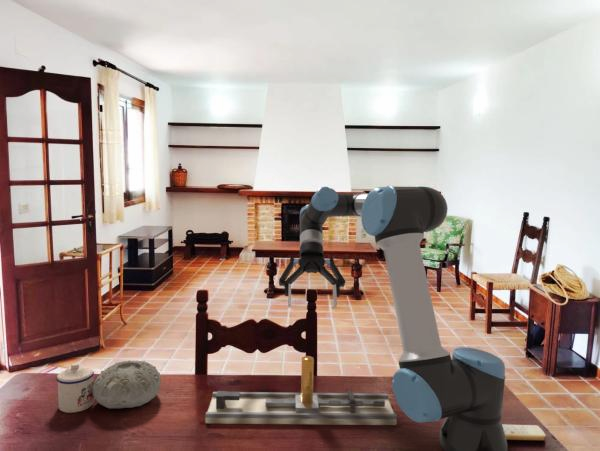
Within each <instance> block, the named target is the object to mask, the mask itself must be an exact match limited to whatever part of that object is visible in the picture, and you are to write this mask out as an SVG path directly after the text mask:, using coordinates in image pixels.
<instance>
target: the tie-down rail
mask: <svg viewBox="0 0 600 451" xmlns="http://www.w3.org/2000/svg"><path fill="white" fill-rule="evenodd" d="M295 395H301V392H279V391H278V392H275V391H274V392H272V391H271V392H269V391H268V392H265V391H264V392H263V391H262V392H261V391H260V392H259V391H252V392H251V391H226V390H217V391H213V392H212V397H211V400H210V403H209V406H208V409H207V411H206V412H205V424H223V425H224V424H226V425H227V424H228V425H229V424H233V425H235V424H236V425H238V424H241V425H242V424H247V425H250V424H252V425H332V426H333V425H334V426H335V425H340V426H341V425H342V426H343V425H344V426H345V425H351V426H354V425H355V426H356V425H357V426H359V425H360V426H361V425H362V426H364V425H366V426H397V424H398V422H397V420H398V419H397V417H398V416H397V414H396V413H395V412H394V410H393V407H392V405H391V402H390V399H389V393H364V392H363V393H361V392H358V393H355V392H353V390H348V391H347V393H346V392H343V393H341V392H338V393H337V392H313V395H317V398H318V400H350V406H319V412H296V407H265V406H266V399H295ZM355 400H385V407H374V406H362V407H361V406H355Z"/></svg>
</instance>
